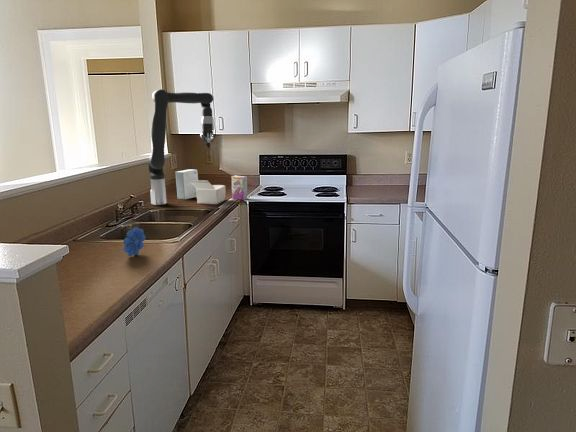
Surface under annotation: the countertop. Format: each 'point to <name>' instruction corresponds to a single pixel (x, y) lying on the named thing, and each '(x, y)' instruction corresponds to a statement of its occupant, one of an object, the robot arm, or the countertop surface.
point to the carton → (211, 195)
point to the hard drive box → (186, 183)
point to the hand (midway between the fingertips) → (208, 148)
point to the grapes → (134, 241)
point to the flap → (201, 184)
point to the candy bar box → (239, 187)
